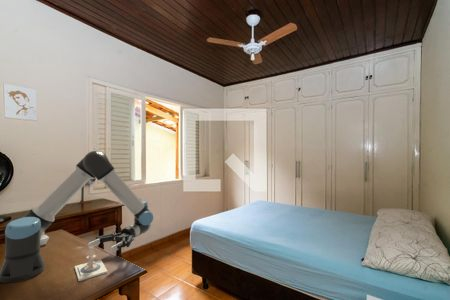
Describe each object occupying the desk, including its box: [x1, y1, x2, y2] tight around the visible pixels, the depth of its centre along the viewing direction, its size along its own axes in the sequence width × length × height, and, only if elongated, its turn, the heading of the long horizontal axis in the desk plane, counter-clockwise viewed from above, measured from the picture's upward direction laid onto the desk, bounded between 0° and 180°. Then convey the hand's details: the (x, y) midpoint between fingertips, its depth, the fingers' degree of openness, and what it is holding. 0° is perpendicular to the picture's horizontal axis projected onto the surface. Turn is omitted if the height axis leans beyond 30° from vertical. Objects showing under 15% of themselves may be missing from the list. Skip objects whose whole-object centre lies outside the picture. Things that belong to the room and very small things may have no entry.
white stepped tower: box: [84, 246, 97, 271], centre depth 104 cm, size 5×5×10 cm
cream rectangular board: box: [74, 259, 109, 282], centre depth 103 cm, size 14×11×1 cm
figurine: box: [40, 231, 50, 246], centre depth 130 cm, size 7×9×15 cm
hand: (99, 248), depth 108 cm, fingers open, 13 cm apart
